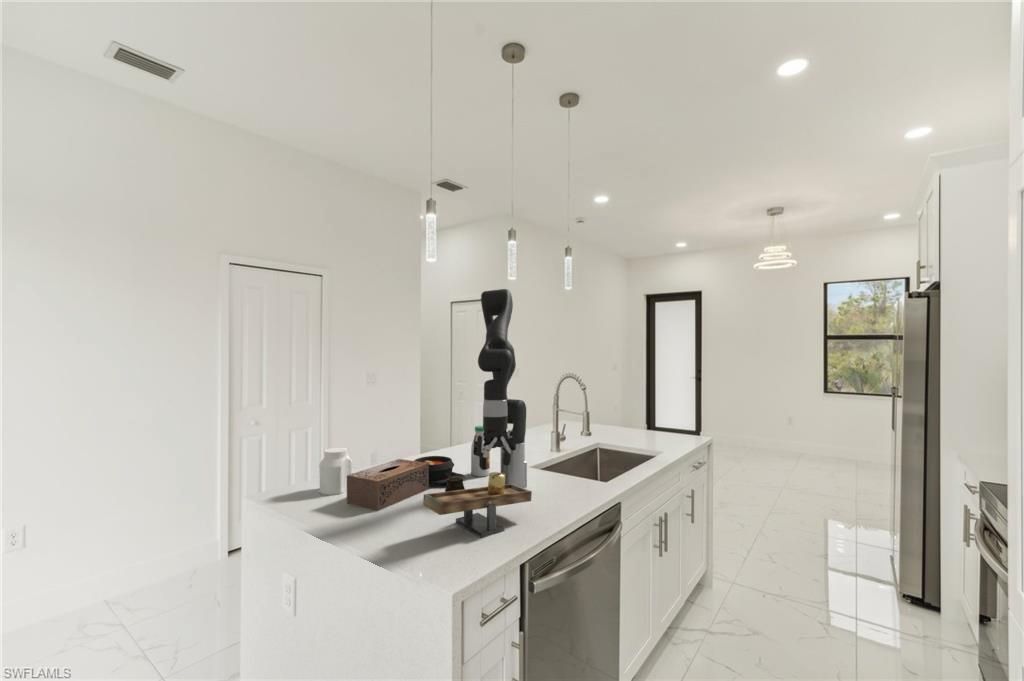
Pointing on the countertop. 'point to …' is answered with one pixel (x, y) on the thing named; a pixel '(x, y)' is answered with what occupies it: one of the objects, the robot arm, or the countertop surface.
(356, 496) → the tissue box cover
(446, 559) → the countertop surface
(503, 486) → the cylinder
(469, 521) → the pivot stand
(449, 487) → the mate gourd
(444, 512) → the beam
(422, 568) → the countertop surface
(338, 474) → the jar
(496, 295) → the robot arm
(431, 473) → the casserole
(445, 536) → the countertop surface
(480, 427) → the milk bottle
